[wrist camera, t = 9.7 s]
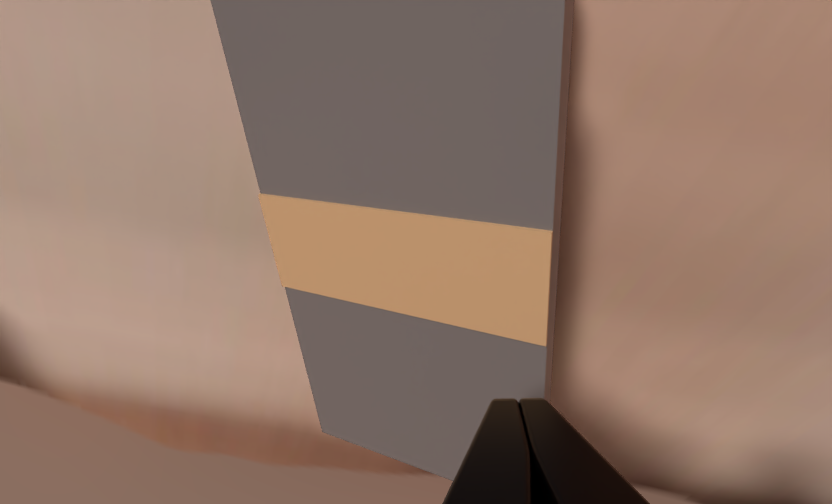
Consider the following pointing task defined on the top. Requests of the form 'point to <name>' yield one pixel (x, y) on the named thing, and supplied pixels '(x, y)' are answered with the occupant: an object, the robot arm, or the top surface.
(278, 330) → the top surface
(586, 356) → the top surface
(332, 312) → the flap lid
